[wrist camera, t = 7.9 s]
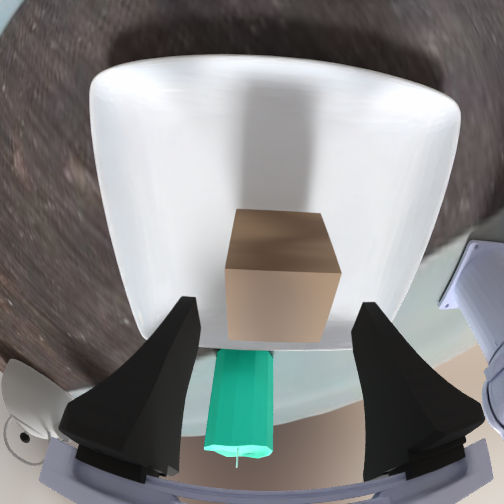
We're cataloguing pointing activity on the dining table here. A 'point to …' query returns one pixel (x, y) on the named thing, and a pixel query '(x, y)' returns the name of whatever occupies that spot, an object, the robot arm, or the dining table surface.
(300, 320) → the walnut block
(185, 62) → the salad plate
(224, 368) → the candle
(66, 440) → the kettle
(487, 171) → the dining table surface
